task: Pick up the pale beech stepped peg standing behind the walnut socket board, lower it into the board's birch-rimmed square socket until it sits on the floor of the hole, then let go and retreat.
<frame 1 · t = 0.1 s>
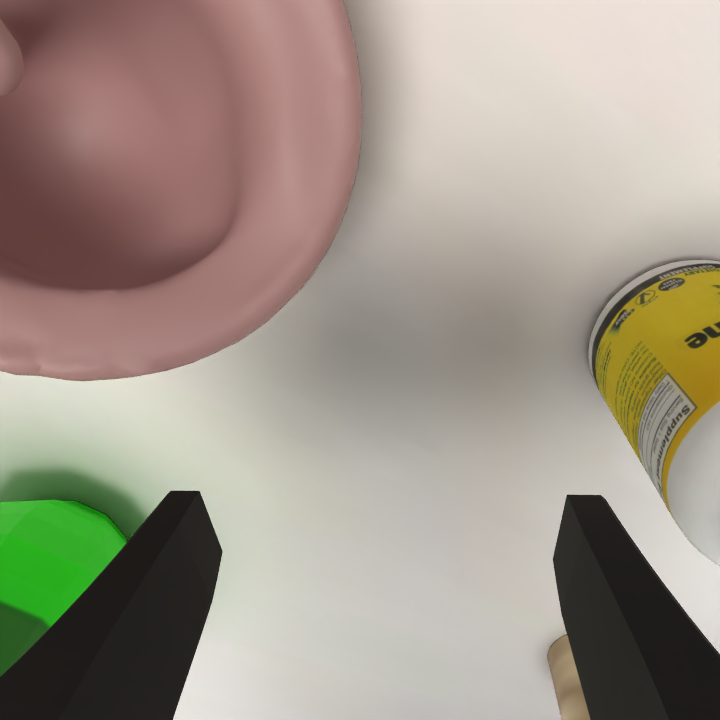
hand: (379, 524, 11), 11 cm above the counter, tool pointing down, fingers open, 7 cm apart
pill bottle: (670, 335, 20), on the counter
beech peg: (588, 655, 28), on the counter
plastic bottle: (79, 537, 27), on the counter
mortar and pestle: (192, 101, 18), on the counter
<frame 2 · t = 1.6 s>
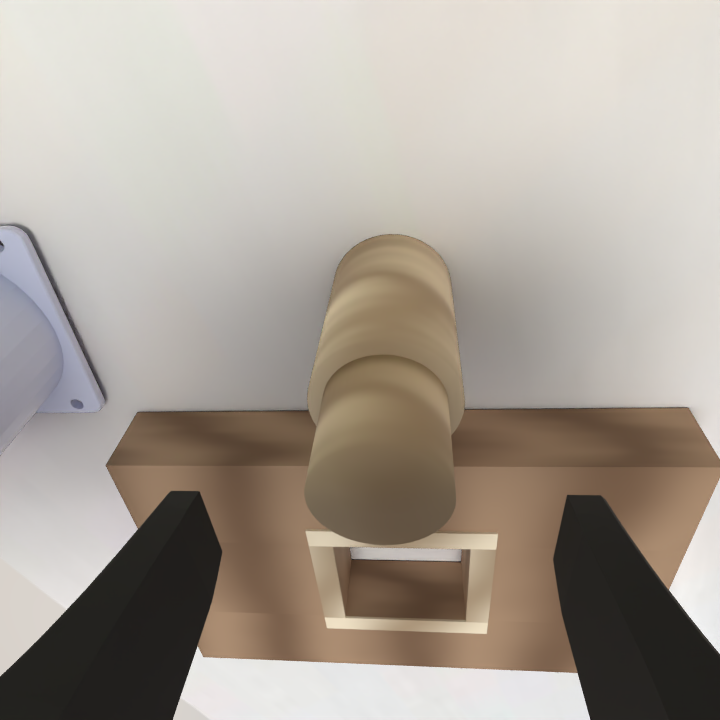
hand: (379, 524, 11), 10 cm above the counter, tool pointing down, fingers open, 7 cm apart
beech peg: (391, 289, 19), on the counter
socket board: (403, 526, 26), on the counter
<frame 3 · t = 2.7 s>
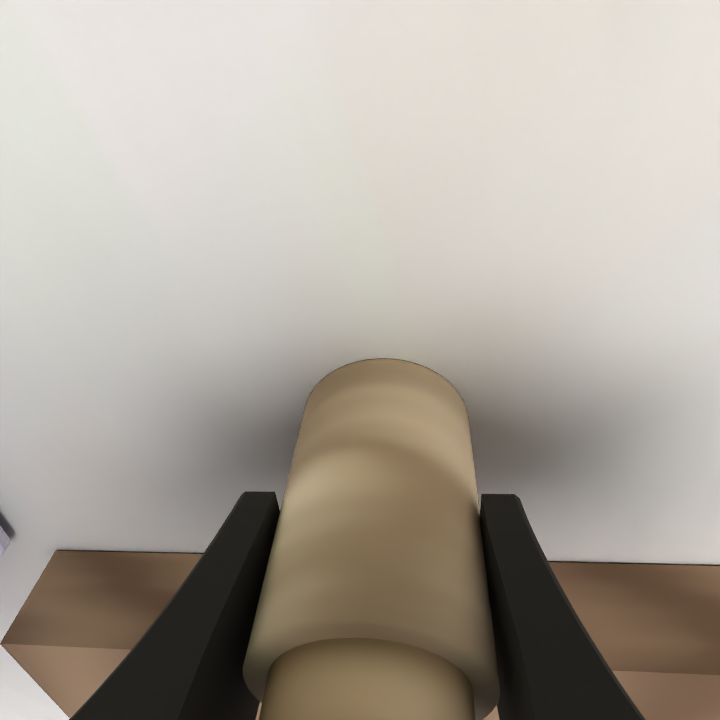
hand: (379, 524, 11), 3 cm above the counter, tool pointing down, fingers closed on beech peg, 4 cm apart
beech peg: (385, 424, 13), on the counter, touching gripper
socket board: (402, 673, 21), on the counter
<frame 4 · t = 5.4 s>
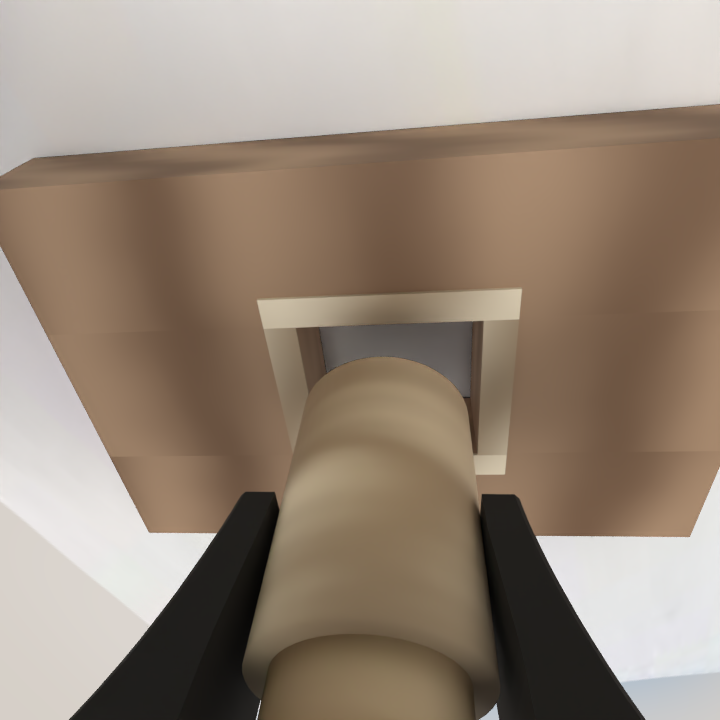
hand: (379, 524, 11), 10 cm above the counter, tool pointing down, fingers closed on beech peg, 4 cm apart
beech peg: (385, 423, 13), point 7 cm above the counter, touching gripper
socket board: (395, 342, 20), on the counter
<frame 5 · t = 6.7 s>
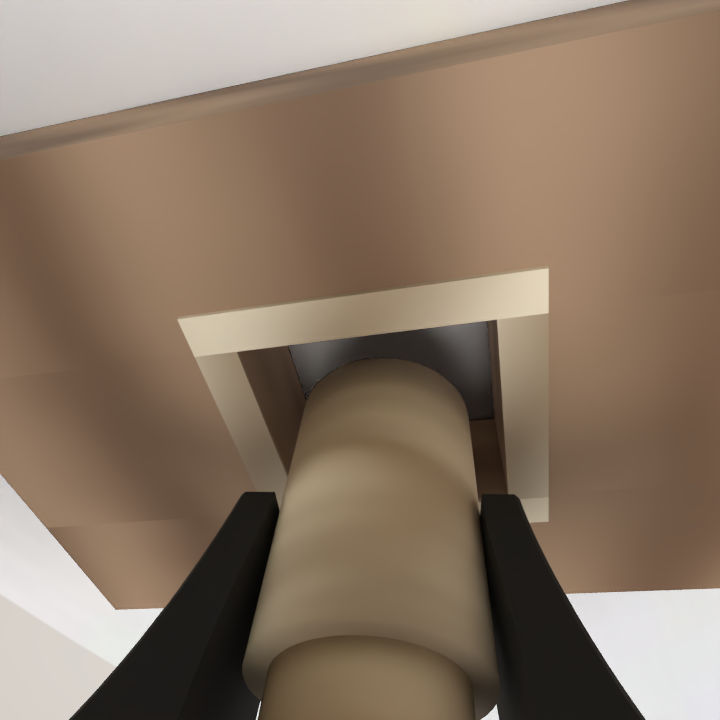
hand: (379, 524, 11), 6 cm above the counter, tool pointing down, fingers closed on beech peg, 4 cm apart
beech peg: (385, 423, 13), point 3 cm above the counter, touching gripper
socket board: (388, 355, 16), on the counter
when the fingers open (4 cm above the counter, at t = 8.0 s): beech peg stays where it is, resting in socket board.
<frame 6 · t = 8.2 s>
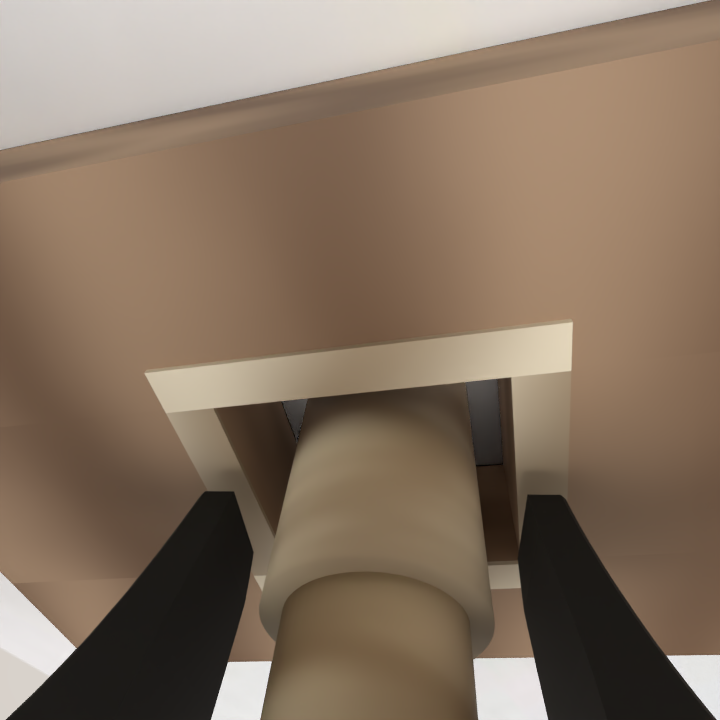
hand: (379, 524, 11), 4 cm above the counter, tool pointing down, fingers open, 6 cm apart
beech peg: (388, 397, 14), resting in socket board
socket board: (387, 398, 14), on the counter
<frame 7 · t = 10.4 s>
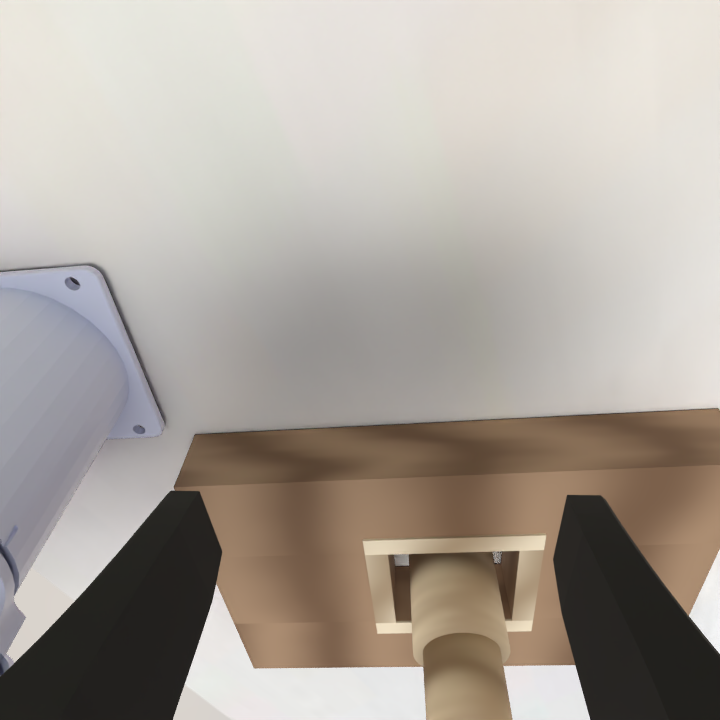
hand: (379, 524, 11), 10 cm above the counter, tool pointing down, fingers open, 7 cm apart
beech peg: (447, 532, 28), resting in socket board
socket board: (447, 532, 28), on the counter
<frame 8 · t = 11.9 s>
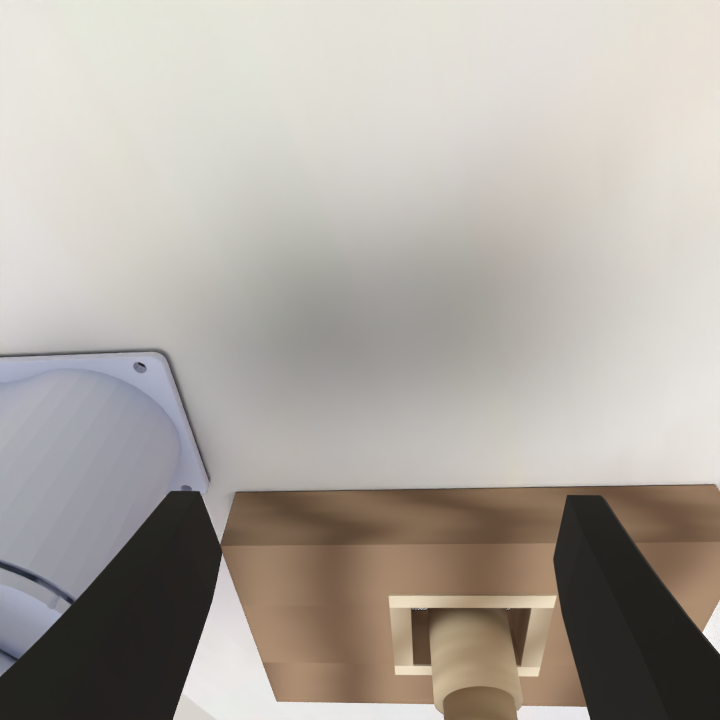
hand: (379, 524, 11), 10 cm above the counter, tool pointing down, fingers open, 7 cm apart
beech peg: (462, 582, 30), resting in socket board
socket board: (462, 582, 30), on the counter
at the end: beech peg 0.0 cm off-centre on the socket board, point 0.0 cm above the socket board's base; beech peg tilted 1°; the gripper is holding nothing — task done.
